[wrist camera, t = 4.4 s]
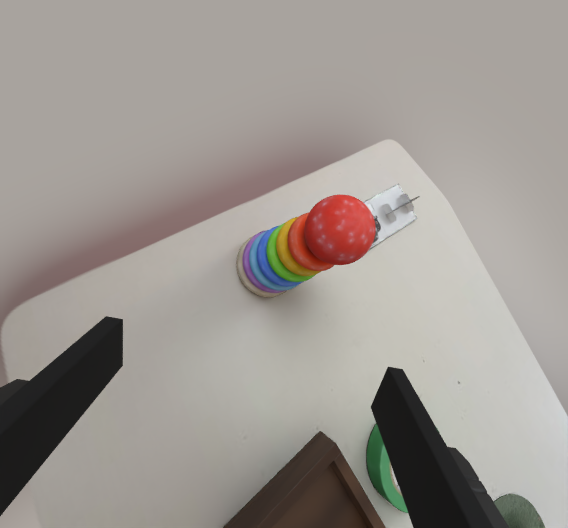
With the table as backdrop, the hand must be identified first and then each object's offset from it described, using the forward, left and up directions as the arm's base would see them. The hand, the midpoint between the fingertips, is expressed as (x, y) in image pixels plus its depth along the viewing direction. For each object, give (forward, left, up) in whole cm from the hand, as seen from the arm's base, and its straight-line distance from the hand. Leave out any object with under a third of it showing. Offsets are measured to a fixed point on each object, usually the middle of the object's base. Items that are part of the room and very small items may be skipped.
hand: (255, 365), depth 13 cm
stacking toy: (-4, +10, -19) cm, 22 cm away
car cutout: (-2, +30, -19) cm, 36 cm away
